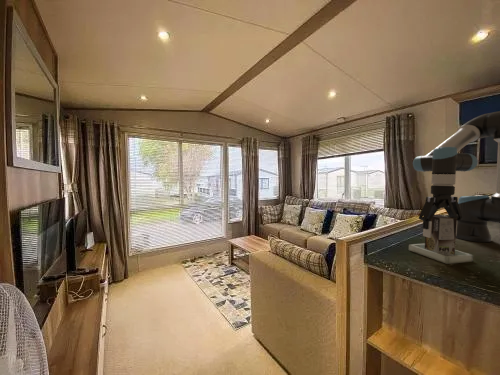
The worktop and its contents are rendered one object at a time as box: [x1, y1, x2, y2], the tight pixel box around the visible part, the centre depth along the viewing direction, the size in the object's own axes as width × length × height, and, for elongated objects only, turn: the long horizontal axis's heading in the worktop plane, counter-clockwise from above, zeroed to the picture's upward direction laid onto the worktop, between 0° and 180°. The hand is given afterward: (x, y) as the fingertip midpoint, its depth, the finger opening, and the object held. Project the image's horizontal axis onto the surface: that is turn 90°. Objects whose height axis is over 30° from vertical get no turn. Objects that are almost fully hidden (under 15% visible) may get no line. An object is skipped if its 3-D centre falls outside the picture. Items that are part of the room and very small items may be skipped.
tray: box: [408, 242, 474, 265], centre depth 95 cm, size 13×16×2 cm
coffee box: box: [424, 214, 457, 256], centre depth 94 cm, size 9×6×16 cm
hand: (439, 236), depth 94 cm, fingers open, 13 cm apart
